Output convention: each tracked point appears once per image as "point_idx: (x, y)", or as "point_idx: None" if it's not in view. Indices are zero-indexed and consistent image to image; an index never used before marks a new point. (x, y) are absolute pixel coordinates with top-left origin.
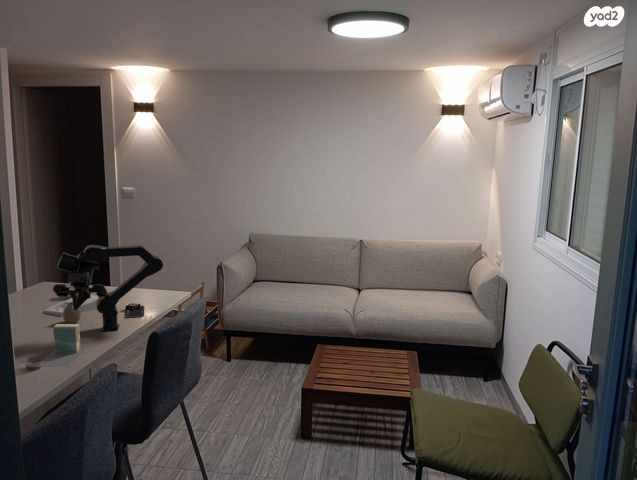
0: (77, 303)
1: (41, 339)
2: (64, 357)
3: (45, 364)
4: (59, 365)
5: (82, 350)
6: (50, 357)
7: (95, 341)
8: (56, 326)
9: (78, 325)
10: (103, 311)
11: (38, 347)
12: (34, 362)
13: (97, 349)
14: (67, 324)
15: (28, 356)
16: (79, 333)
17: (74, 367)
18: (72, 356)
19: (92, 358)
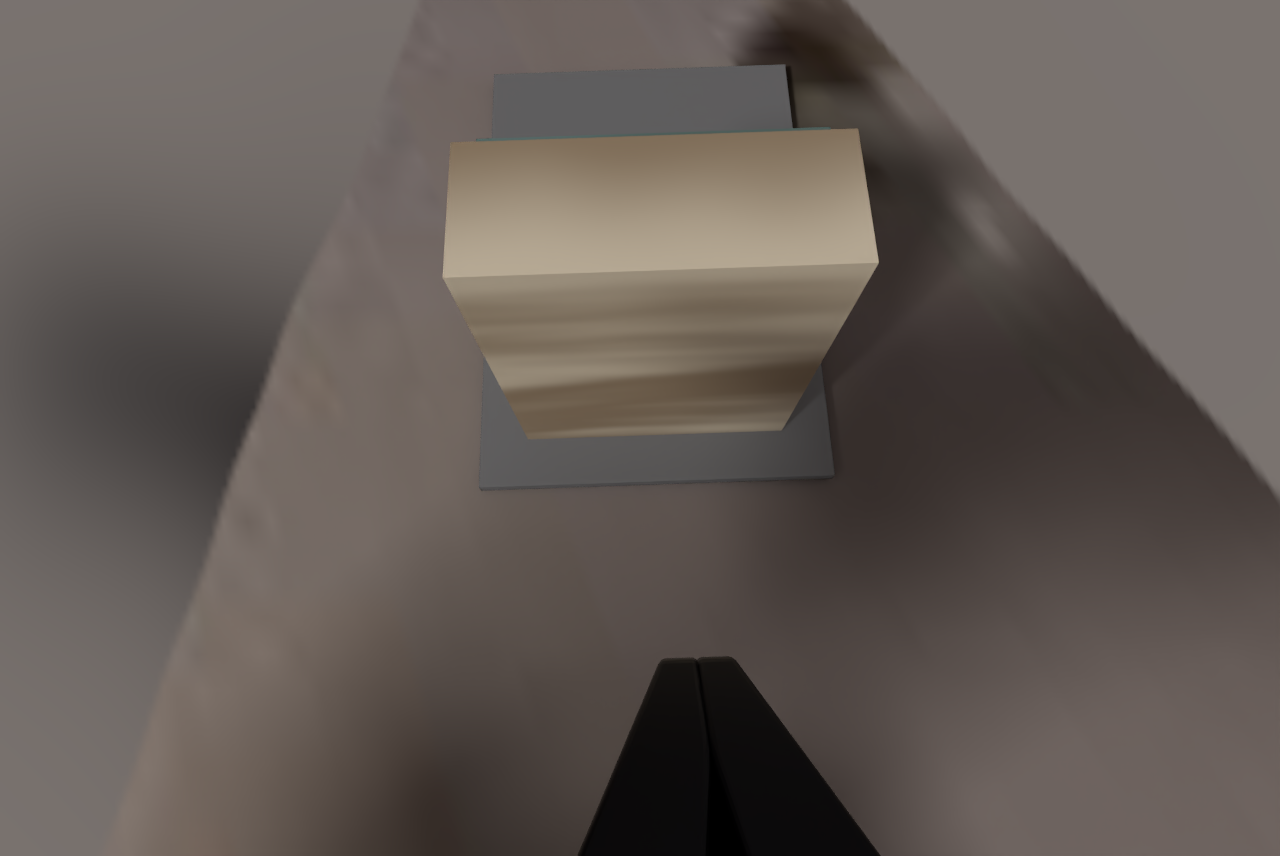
0: (634, 830)
1: (1232, 816)
2: None
3: (719, 99)
4: (582, 84)
5: (497, 414)
6: None
7: (448, 753)
8: (815, 158)
9: (449, 261)
10: None
11: (1073, 526)
12: None
13: (349, 482)
14: (663, 258)
15: (1010, 287)
16: (485, 352)
17: (445, 83)
18: None
19: (338, 256)
